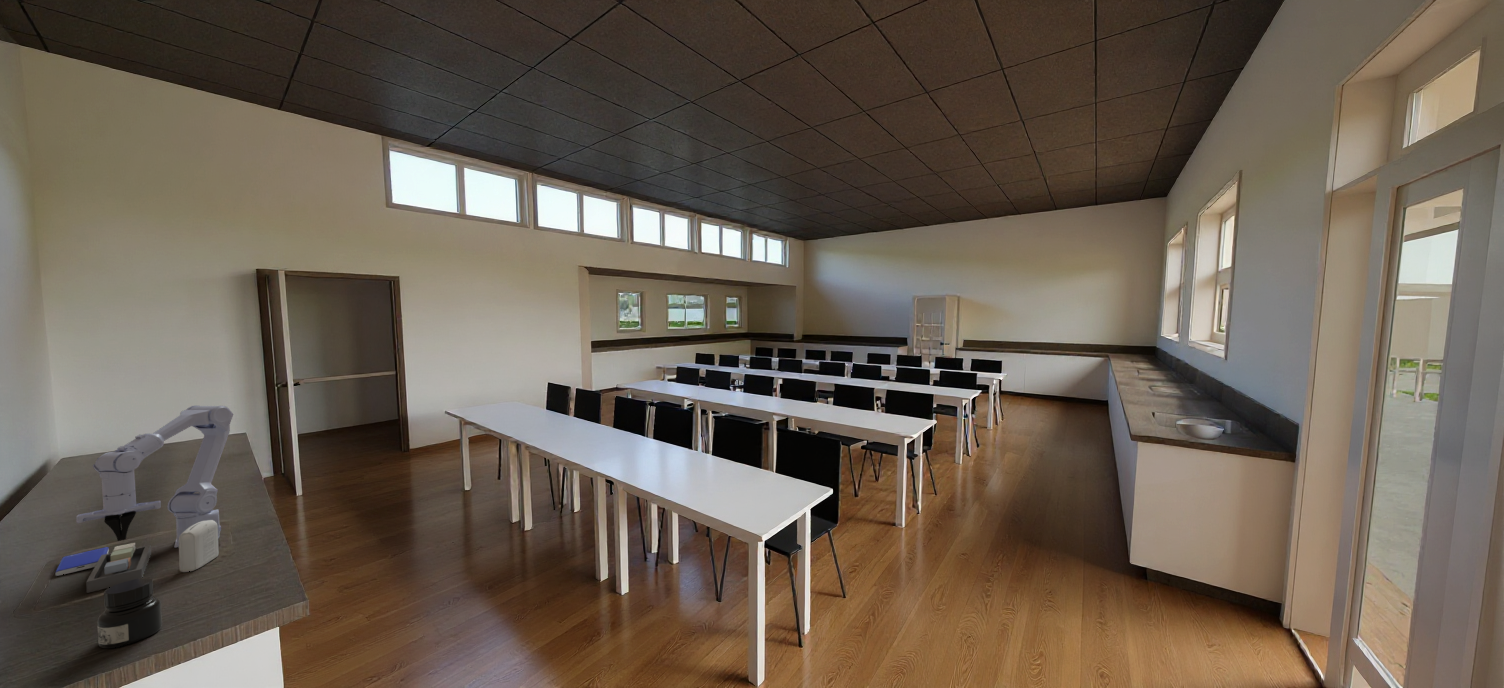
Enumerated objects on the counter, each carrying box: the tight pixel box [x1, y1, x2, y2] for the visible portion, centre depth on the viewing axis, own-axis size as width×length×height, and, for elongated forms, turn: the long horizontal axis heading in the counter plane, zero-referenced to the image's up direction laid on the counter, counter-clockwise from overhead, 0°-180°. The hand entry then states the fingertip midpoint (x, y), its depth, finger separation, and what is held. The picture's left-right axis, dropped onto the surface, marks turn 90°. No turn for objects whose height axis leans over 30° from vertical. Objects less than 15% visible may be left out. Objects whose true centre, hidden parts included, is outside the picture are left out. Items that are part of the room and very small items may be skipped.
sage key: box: [110, 548, 133, 561], centre depth 138 cm, size 4×4×3 cm
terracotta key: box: [111, 557, 131, 571], centre depth 134 cm, size 4×4×3 cm
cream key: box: [112, 542, 136, 553], centre depth 141 cm, size 4×4×3 cm
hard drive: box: [55, 546, 110, 577], centre depth 140 cm, size 2×8×12 cm
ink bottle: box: [96, 577, 163, 649], centre depth 109 cm, size 10×9×12 cm
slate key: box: [104, 558, 128, 575], centre depth 131 cm, size 4×4×3 cm
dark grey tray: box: [85, 544, 152, 594], centre depth 136 cm, size 9×21×3 cm, turn 47°
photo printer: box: [178, 520, 220, 573], centre depth 141 cm, size 10×4×12 cm, turn 20°
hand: (122, 539), depth 138 cm, fingers closed
